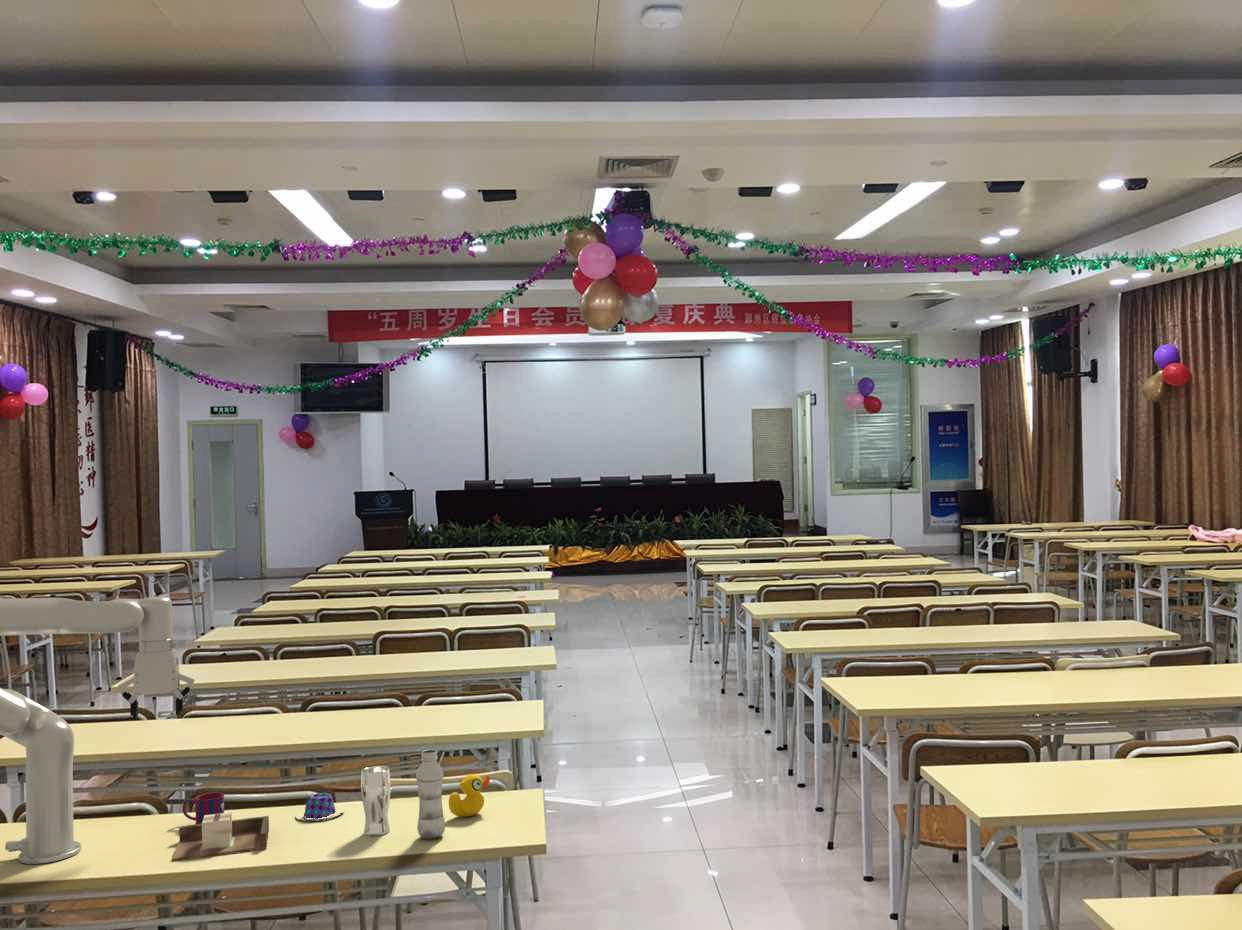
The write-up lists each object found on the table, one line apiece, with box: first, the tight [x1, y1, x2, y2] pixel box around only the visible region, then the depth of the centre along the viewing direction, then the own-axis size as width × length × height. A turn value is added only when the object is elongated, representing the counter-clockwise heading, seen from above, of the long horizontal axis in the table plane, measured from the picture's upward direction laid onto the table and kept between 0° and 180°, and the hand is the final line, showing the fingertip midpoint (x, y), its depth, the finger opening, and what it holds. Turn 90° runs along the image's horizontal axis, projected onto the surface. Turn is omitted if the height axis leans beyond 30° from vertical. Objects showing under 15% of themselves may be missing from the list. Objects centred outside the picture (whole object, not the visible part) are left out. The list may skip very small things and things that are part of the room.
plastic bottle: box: [415, 749, 446, 840], centre depth 234 cm, size 6×7×20 cm
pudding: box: [295, 792, 337, 822], centre depth 254 cm, size 12×12×5 cm
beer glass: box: [360, 765, 392, 837], centre depth 239 cm, size 7×7×15 cm
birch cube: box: [202, 812, 233, 849], centre depth 232 cm, size 6×6×6 cm
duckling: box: [448, 773, 491, 818], centre depth 250 cm, size 11×5×10 cm, turn 127°
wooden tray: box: [171, 815, 270, 862], centre depth 233 cm, size 20×14×4 cm
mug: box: [182, 792, 225, 825], centre depth 250 cm, size 7×10×7 cm
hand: (157, 716), depth 245 cm, fingers open, 9 cm apart
